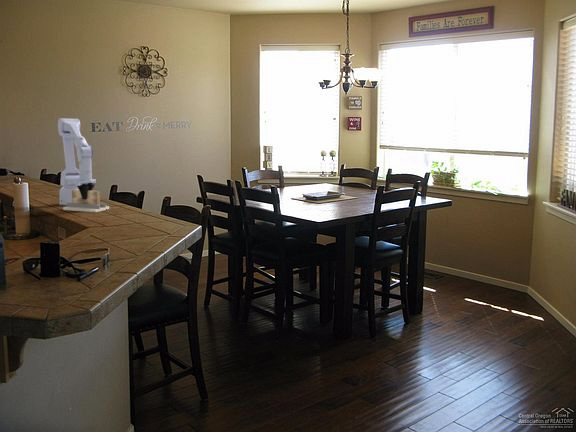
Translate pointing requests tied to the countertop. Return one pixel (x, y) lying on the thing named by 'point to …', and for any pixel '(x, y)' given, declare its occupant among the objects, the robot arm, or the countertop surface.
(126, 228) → the countertop surface
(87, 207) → the track plinth
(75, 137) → the robot arm
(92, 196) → the door panel
